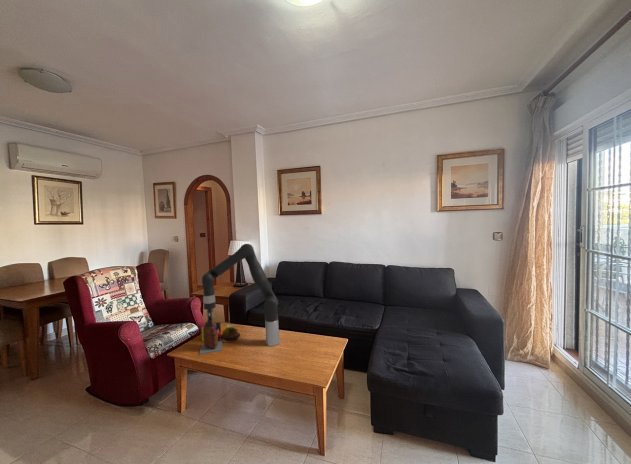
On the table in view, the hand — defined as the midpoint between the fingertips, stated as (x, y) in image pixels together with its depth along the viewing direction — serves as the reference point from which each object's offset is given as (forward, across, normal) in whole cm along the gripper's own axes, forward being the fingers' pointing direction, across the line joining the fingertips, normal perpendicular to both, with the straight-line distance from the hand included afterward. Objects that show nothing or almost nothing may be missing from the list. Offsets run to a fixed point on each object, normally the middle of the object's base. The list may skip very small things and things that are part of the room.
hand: (210, 324), depth 175 cm
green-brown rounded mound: (+17, -13, +12) cm, 25 cm away
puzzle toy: (+17, -17, -1) cm, 24 cm away
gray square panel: (+17, 0, 0) cm, 17 cm away
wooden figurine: (+15, 0, 0) cm, 15 cm away
